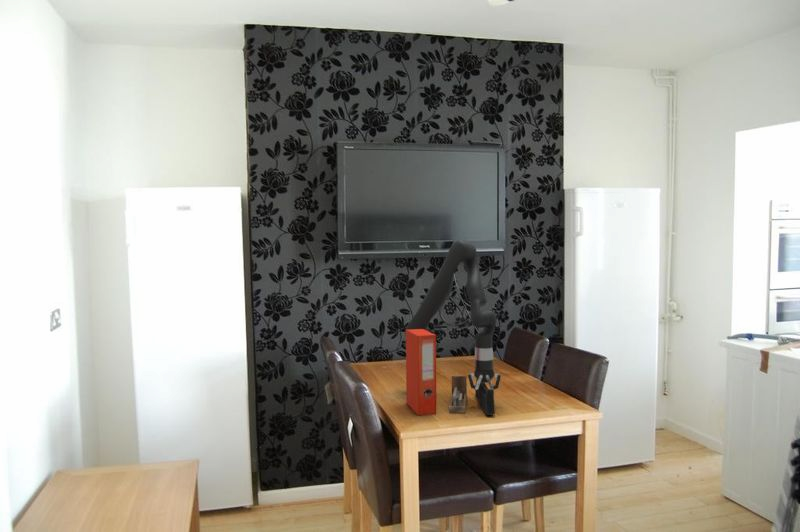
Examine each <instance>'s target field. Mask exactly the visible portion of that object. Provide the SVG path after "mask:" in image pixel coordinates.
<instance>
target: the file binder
mask: <svg viewBox="0 0 800 532" xmlns="http://www.w3.org/2000/svg"><path fill="white" fill-rule="evenodd" d="M405 367H406V368H405V371H406V372H405V373H406V374H405V375H406V376H405V380H406V381H405V383H406V384H405V389H406V391H405V392H406V393H405V394H406V396H405V397H406V405H408V407H410V408H411V410H412V411H413V412H414V413H416V414H417V415H418V416H427V415H428V414H430V415H436V414H437V335H436V334H435V333H432V332H430V331H429V332H428V331H426V330H424V329H410V330H406V336H405Z"/></svg>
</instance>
